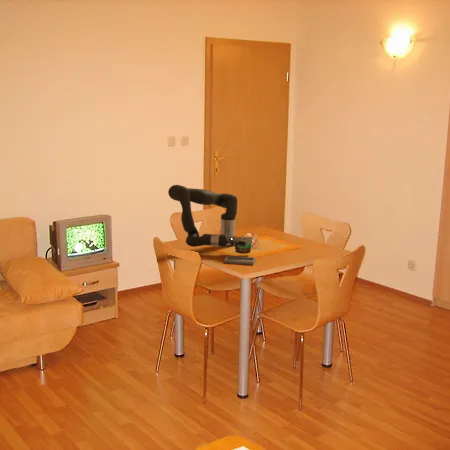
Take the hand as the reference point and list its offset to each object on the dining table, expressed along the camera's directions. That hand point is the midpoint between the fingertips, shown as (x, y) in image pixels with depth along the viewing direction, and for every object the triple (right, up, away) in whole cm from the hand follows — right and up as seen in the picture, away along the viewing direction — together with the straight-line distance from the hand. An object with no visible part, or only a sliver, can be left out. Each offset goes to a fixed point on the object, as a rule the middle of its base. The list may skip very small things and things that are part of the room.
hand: (246, 242), depth 370 cm
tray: (-4, -11, -11) cm, 16 cm away
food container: (-1, -7, +2) cm, 7 cm away
